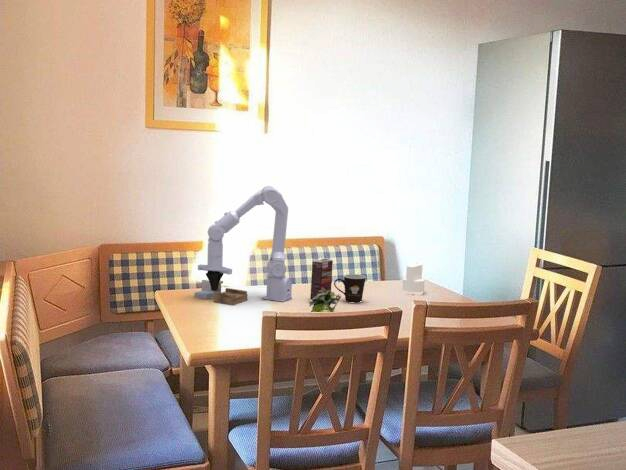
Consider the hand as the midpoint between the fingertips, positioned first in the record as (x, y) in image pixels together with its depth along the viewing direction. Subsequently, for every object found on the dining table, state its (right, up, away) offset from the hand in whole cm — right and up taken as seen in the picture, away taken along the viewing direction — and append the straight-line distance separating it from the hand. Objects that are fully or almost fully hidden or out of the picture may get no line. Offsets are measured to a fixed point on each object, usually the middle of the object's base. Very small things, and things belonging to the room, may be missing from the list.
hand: (214, 290), depth 266 cm
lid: (-4, -1, +3) cm, 5 cm away
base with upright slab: (+81, -3, +25) cm, 85 cm away
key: (-2, -2, +8) cm, 8 cm away
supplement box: (+41, -5, +5) cm, 42 cm away
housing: (+7, -4, -3) cm, 8 cm away
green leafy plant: (+43, -8, -17) cm, 47 cm away
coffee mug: (+53, -5, +6) cm, 54 cm away
